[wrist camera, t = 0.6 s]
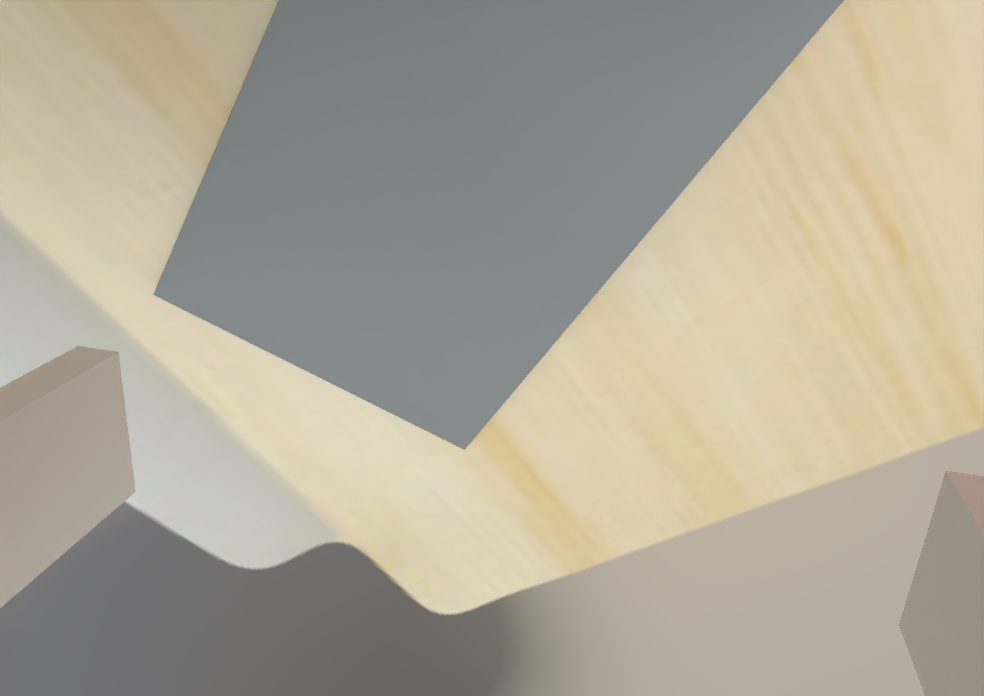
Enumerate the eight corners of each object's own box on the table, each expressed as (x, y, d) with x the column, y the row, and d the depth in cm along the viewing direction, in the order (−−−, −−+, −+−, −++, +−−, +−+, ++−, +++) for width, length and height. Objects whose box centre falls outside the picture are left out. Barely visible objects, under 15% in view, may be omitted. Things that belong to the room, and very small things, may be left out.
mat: (157, 289, 55) (153, 294, 55) (428, -345, 35) (426, -346, 34) (465, 444, 61) (464, 449, 61) (851, -17, 41) (855, -14, 40)
